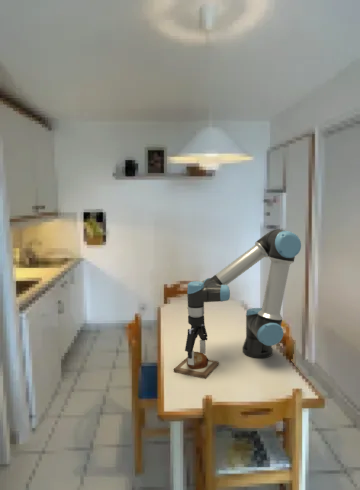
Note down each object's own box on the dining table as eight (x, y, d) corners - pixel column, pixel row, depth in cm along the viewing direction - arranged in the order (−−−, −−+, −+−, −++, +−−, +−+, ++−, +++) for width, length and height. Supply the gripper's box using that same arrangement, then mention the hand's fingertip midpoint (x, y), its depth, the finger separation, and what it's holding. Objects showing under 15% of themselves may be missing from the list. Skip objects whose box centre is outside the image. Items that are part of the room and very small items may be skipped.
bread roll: (189, 367, 182) (182, 353, 181) (208, 358, 183) (201, 344, 182) (191, 377, 173) (184, 362, 172) (211, 367, 173) (204, 352, 172)
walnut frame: (218, 364, 181) (218, 361, 181) (205, 378, 167) (205, 375, 167) (188, 358, 188) (188, 355, 188) (173, 372, 174) (173, 368, 174)
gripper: (199, 307, 187) (200, 347, 190) (176, 322, 165) (177, 368, 168) (213, 308, 184) (214, 350, 186) (192, 324, 162) (193, 371, 164)
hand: (197, 358), depth 177 cm, fingers open, 13 cm apart
